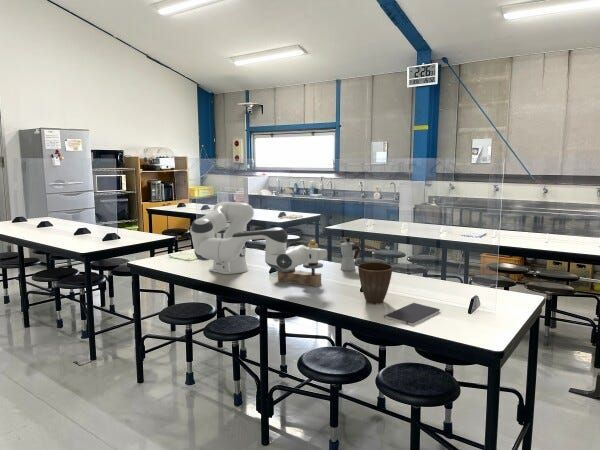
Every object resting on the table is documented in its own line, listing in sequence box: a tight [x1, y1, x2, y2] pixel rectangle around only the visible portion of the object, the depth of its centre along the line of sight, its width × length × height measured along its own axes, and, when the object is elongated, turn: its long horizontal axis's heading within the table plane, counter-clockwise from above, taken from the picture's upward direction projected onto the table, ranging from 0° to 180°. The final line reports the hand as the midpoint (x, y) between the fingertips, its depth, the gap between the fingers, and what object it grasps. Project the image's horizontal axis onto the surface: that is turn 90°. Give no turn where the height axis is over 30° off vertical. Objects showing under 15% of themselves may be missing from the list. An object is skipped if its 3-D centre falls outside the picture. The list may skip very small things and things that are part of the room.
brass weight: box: [307, 239, 319, 265], centre depth 227 cm, size 5×5×12 cm
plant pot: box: [357, 261, 394, 305], centre depth 200 cm, size 15×15×16 cm
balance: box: [275, 262, 324, 287], centre depth 233 cm, size 26×10×10 cm, turn 61°
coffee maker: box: [339, 237, 361, 272], centre depth 256 cm, size 15×9×18 cm, turn 42°
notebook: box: [384, 302, 441, 326], centre depth 184 cm, size 13×2×21 cm
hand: (313, 249), depth 228 cm, fingers closed on brass weight, 5 cm apart
